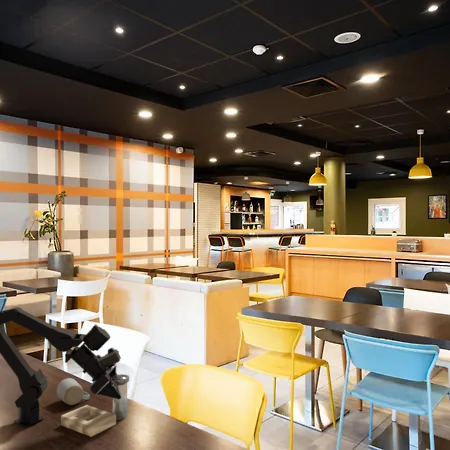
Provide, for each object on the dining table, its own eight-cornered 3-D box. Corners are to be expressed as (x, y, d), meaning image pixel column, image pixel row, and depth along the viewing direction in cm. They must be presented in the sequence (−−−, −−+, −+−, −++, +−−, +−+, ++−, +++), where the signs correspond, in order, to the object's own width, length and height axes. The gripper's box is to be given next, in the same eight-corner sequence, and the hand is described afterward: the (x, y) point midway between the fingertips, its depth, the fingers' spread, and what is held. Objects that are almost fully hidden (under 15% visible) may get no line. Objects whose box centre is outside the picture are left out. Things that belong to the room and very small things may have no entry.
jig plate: (61, 425, 133) (61, 415, 133) (86, 413, 141) (86, 404, 141) (90, 436, 126) (91, 426, 126) (116, 424, 134) (116, 414, 134)
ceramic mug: (64, 408, 146) (64, 386, 146) (55, 401, 152) (56, 380, 152) (93, 401, 153) (94, 380, 153) (84, 394, 159) (84, 374, 159)
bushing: (107, 417, 138) (107, 378, 139) (120, 411, 143) (120, 373, 144) (119, 422, 135) (120, 381, 136) (132, 415, 140) (132, 376, 141)
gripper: (101, 350, 130) (137, 384, 131) (109, 336, 149) (141, 366, 150) (74, 377, 129) (111, 411, 130) (86, 359, 147) (118, 389, 149)
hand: (122, 392), depth 140 cm, fingers open, 9 cm apart
